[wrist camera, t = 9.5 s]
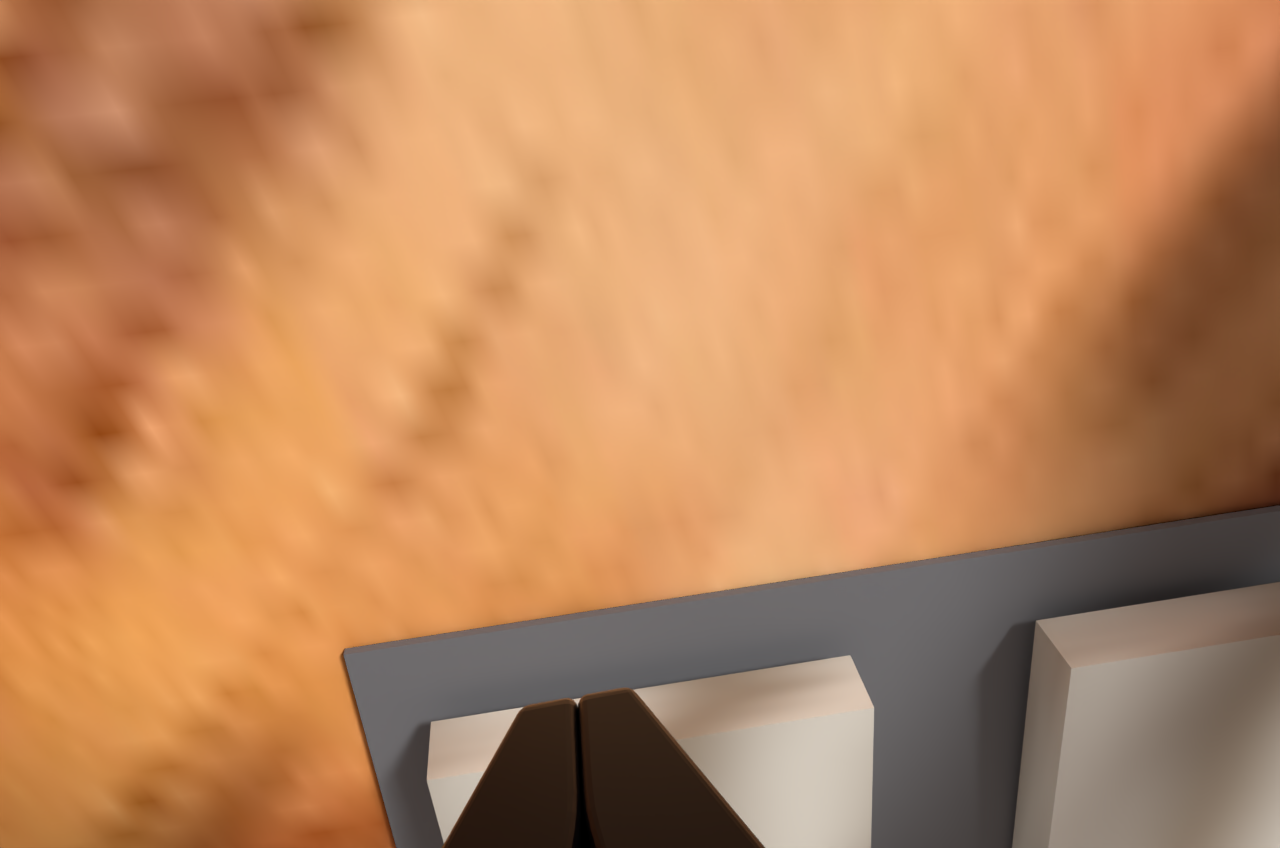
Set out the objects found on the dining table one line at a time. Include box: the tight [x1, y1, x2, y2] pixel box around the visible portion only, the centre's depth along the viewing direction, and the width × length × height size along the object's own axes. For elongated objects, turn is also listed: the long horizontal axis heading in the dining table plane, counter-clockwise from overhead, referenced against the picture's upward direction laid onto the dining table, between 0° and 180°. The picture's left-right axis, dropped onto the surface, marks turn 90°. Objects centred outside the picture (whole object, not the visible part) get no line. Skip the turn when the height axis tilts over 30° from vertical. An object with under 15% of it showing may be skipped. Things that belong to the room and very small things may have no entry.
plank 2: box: [1012, 582, 1280, 848], centre depth 23 cm, size 8×9×2 cm
